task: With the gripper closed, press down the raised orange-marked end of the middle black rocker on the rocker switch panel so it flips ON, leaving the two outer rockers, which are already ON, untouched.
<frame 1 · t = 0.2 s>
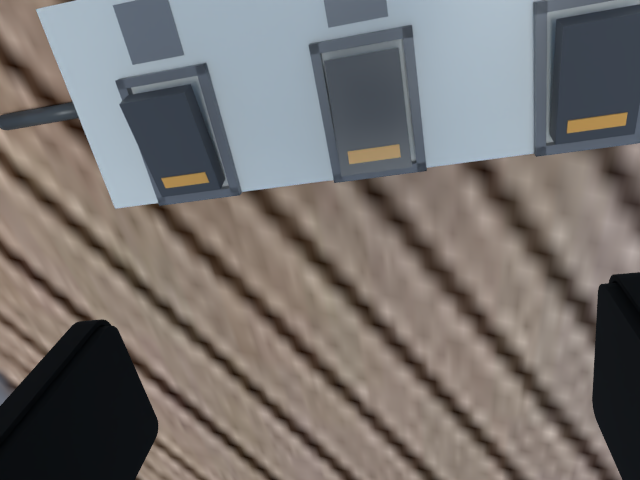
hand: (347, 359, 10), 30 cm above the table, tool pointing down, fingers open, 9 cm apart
rocker middle: (369, 113, 32), point 5 cm above the table, hinge at -10.0°
rocker 2: (597, 78, 30), point 5 cm above the table, hinge at 10.0°
rocker 1: (175, 144, 35), point 5 cm above the table, hinge at 10.0°
rocker switch panel: (367, 57, 36), on the table
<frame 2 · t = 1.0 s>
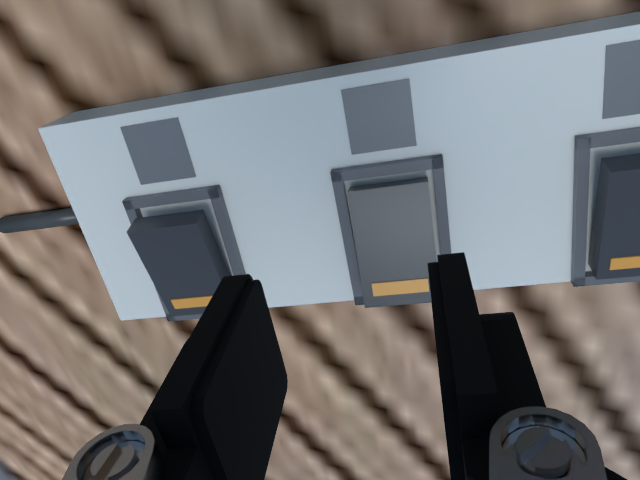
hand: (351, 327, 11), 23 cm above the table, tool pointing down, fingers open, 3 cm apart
rocker middle: (395, 244, 30), point 5 cm above the table, hinge at -10.0°
rocker 1: (186, 266, 33), point 5 cm above the table, hinge at 10.0°
rocker switch panel: (390, 170, 34), on the table
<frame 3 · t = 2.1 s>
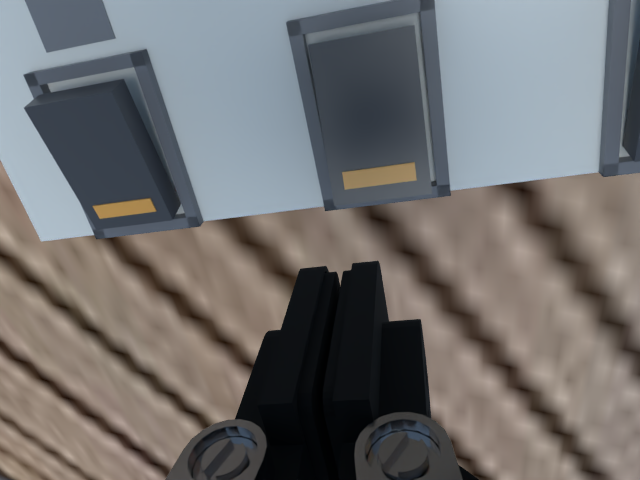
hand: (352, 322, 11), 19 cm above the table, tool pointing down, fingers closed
rocker middle: (372, 119, 23), point 5 cm above the table, hinge at -10.0°
rocker 1: (108, 160, 26), point 5 cm above the table, hinge at 10.0°
rocker switch panel: (369, 41, 27), on the table
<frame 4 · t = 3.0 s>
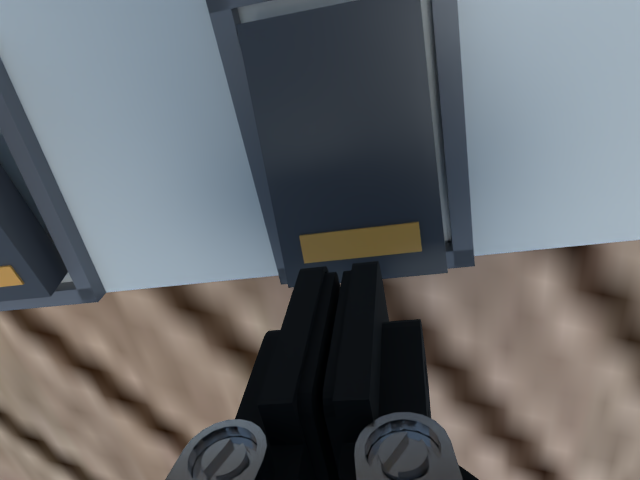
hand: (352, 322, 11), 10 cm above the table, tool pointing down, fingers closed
rocker middle: (349, 150, 14), point 5 cm above the table, hinge at -10.0°
rocker switch panel: (349, 26, 18), on the table
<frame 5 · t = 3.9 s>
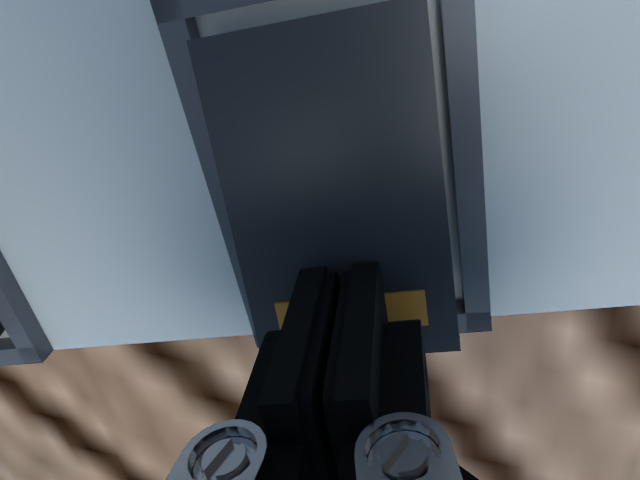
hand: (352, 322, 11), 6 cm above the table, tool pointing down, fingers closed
rocker middle: (336, 196, 11), point 5 cm above the table, hinge at -8.4°, touching gripper
rocker switch panel: (339, 36, 15), on the table
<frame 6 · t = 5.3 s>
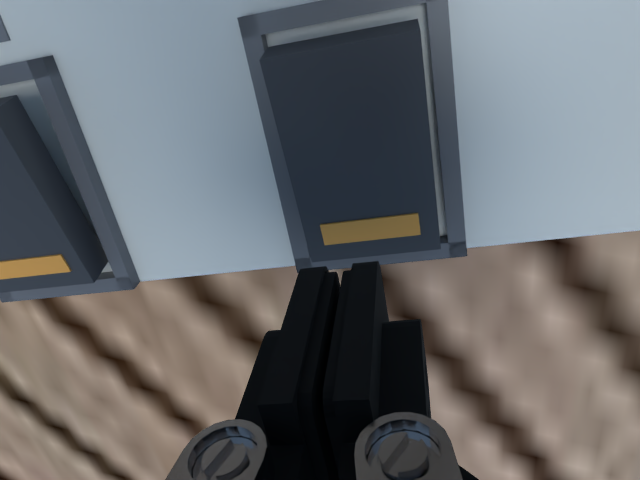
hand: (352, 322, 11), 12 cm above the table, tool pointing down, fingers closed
rocker middle: (359, 153, 16), point 5 cm above the table, hinge at 7.3°
rocker 1: (4, 204, 19), point 5 cm above the table, hinge at 10.0°
rocker switch panel: (358, 48, 20), on the table
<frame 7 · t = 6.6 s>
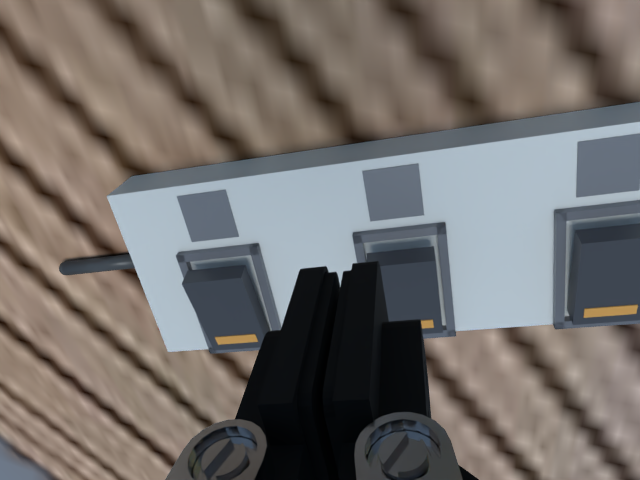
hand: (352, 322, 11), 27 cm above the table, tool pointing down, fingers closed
rocker middle: (406, 294, 36), point 5 cm above the table, hinge at 12.9°, touching rocker switch panel
rocker 2: (610, 276, 34), point 5 cm above the table, hinge at 10.0°
rocker 1: (228, 310, 39), point 5 cm above the table, hinge at 10.0°
rocker switch panel: (401, 227, 40), on the table
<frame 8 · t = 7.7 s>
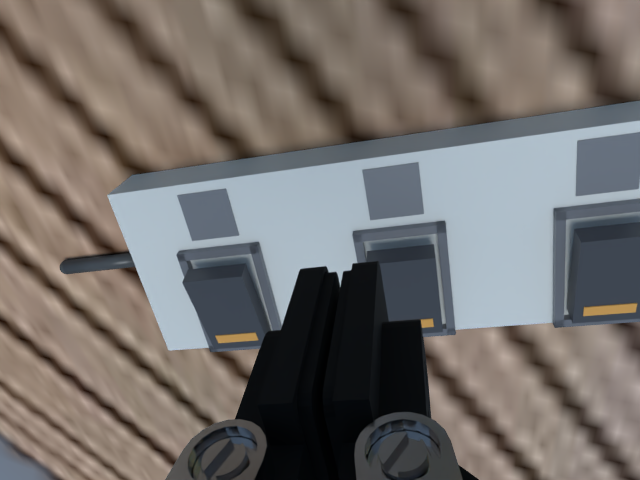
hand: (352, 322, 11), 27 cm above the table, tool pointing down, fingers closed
rocker middle: (406, 293, 36), point 5 cm above the table, hinge at 11.2°
rocker 2: (610, 275, 34), point 5 cm above the table, hinge at 10.0°
rocker 1: (229, 308, 39), point 5 cm above the table, hinge at 10.0°
rocker switch panel: (401, 226, 40), on the table
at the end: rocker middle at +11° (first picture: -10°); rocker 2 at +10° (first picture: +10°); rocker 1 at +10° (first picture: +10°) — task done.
